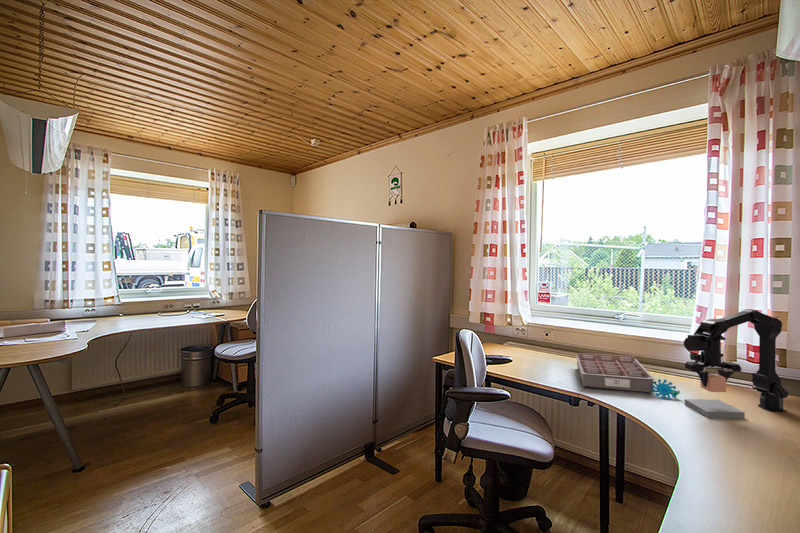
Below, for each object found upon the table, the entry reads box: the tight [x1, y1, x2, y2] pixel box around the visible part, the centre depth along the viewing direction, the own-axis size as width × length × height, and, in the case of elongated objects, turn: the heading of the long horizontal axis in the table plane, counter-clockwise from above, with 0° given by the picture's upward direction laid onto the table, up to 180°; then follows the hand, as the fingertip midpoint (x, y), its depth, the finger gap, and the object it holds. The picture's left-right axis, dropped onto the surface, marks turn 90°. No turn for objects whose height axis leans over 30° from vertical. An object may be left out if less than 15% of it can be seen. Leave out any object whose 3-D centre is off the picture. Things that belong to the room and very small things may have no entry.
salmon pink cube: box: [699, 372, 727, 393], centre depth 156 cm, size 6×6×6 cm
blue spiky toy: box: [651, 378, 681, 400], centre depth 175 cm, size 11×6×10 cm
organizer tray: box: [575, 352, 656, 393], centre depth 201 cm, size 32×40×10 cm
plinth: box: [684, 398, 746, 419], centre depth 157 cm, size 14×14×2 cm
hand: (712, 386), depth 156 cm, fingers closed on salmon pink cube, 6 cm apart
